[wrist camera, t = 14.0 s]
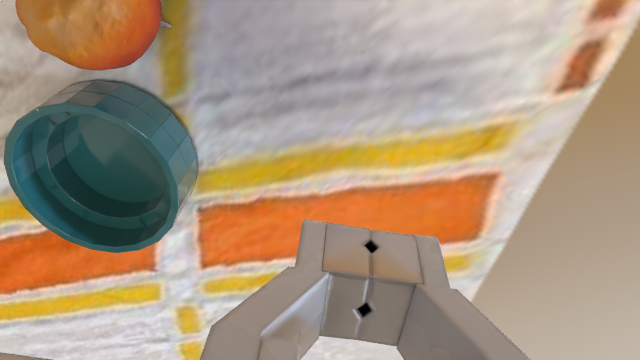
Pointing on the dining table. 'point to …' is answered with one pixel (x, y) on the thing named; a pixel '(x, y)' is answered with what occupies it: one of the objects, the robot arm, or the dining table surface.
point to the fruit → (92, 29)
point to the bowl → (102, 166)
